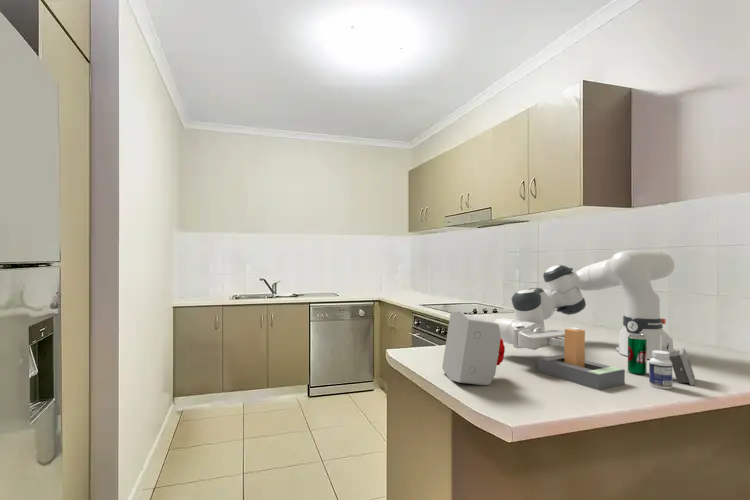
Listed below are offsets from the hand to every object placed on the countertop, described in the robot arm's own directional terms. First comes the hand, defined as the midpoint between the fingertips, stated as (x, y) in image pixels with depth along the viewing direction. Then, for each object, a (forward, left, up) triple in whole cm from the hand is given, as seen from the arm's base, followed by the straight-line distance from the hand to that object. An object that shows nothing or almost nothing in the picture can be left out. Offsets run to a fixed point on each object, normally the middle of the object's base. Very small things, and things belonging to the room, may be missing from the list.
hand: (567, 343), depth 129 cm
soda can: (-22, +9, -10) cm, 25 cm away
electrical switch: (-26, +20, -10) cm, 34 cm away
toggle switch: (-1, +4, -9) cm, 10 cm away
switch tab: (-1, +2, -8) cm, 8 cm away
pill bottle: (-14, +20, -10) cm, 26 cm away
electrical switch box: (+28, -9, -10) cm, 31 cm away
